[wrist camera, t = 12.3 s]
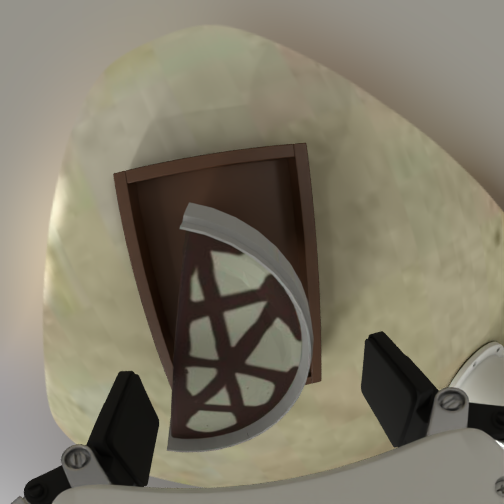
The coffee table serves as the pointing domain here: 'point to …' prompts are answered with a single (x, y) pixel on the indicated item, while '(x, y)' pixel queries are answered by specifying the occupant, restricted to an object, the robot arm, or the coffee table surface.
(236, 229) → the lattice half-cylinder
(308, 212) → the tray
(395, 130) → the coffee table surface
